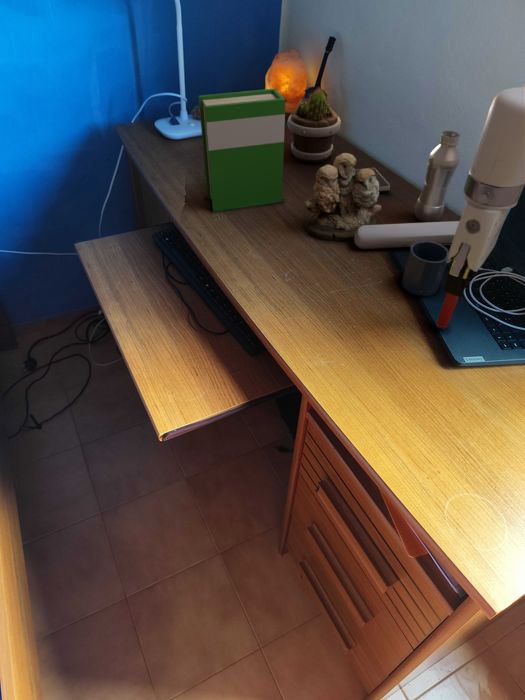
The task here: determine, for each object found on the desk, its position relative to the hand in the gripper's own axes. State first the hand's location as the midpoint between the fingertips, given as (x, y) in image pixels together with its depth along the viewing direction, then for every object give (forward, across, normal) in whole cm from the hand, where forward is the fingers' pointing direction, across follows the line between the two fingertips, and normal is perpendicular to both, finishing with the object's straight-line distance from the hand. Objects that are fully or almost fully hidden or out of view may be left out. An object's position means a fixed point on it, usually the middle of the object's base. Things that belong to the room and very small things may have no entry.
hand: (455, 288), depth 79 cm
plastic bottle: (+10, +35, +17) cm, 40 cm away
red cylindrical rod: (+9, 0, 0) cm, 9 cm away
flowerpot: (+9, +48, +58) cm, 76 cm away
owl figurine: (+9, +19, +32) cm, 38 cm away
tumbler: (+9, +10, +8) cm, 16 cm away
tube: (+9, +22, +16) cm, 29 cm away
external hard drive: (+10, +42, +36) cm, 56 cm away
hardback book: (+9, +16, +58) cm, 61 cm away
